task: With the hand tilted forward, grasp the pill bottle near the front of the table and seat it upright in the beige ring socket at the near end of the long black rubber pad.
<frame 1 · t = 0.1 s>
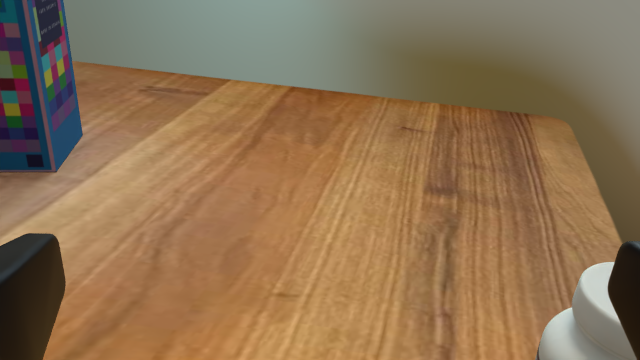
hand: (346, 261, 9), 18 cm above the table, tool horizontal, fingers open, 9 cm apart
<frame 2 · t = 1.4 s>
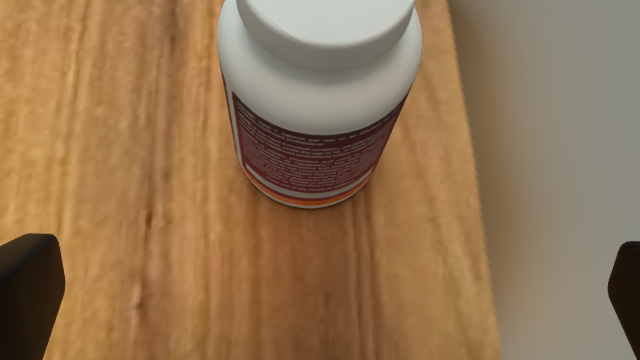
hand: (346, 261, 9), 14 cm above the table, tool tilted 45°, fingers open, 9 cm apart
pill bottle: (307, 144, 25), on the table
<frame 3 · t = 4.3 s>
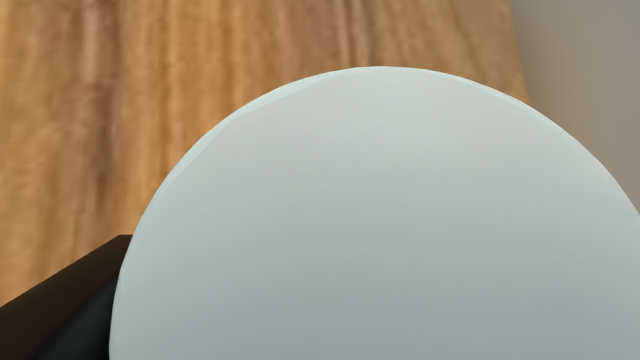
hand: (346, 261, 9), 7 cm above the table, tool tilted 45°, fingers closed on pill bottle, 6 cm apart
when the fingers open (7 cm above the table, at t = 11.2 s): pill bottle stays where it is, resting on pad.
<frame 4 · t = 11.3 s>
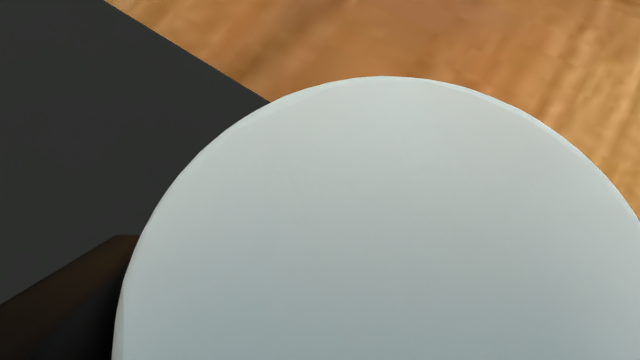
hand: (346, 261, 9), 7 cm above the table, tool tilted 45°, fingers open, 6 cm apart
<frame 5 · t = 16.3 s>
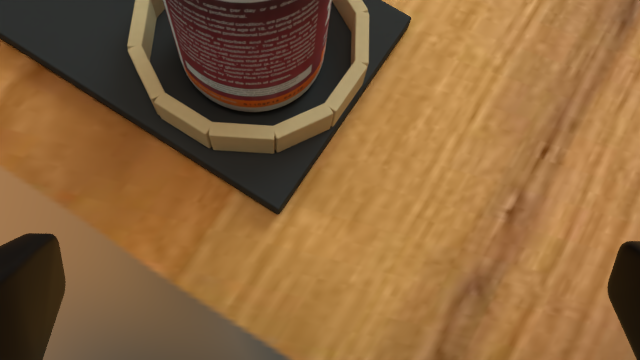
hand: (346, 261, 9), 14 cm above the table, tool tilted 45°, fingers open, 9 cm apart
pill bottle: (253, 55, 25), point 1 cm above the table, touching pad
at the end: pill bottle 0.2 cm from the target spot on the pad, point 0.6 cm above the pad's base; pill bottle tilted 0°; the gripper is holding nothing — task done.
